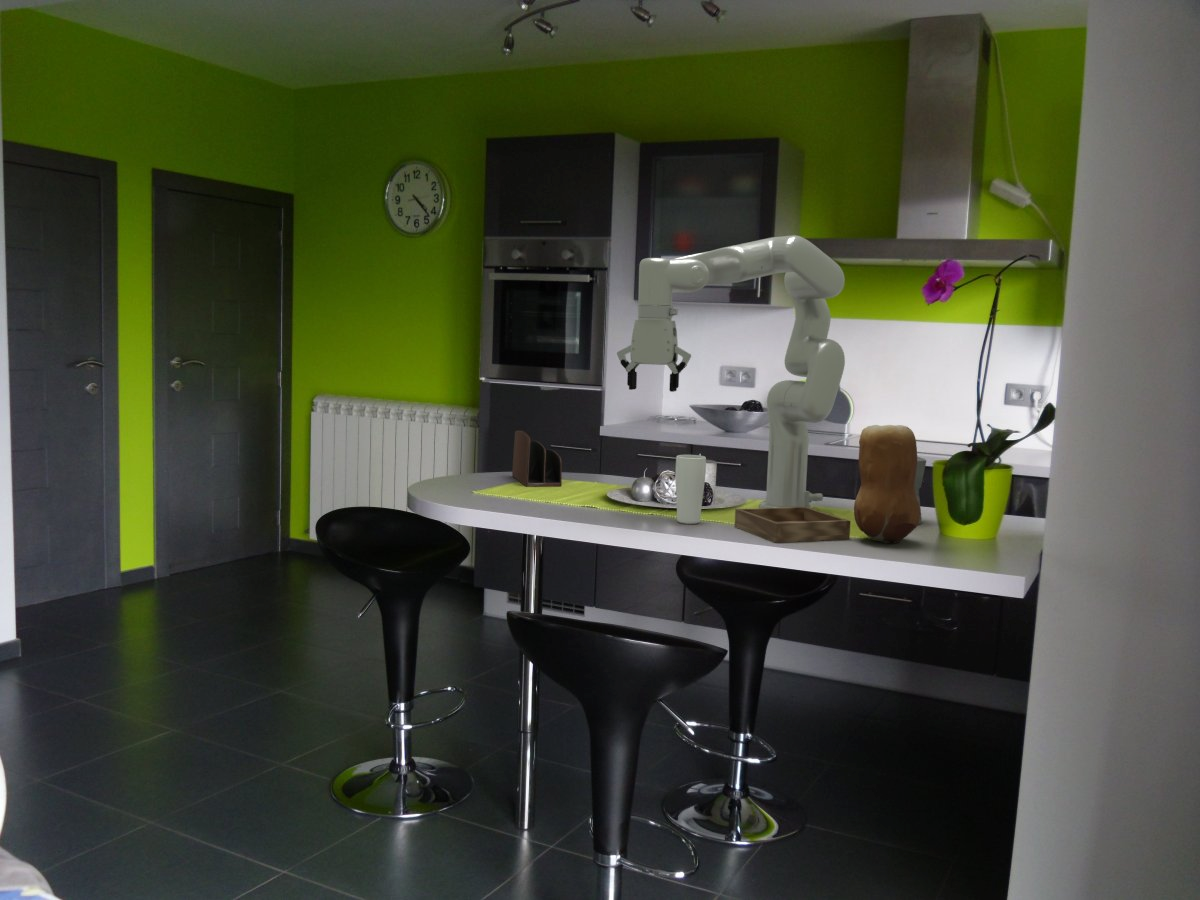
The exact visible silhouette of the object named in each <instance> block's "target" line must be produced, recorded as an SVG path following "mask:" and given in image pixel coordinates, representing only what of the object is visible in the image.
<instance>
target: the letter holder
mask: <svg viewBox="0 0 1200 900" xmlns="http://www.w3.org/2000/svg"><path fill="white" fill-rule="evenodd" d="M513 445H514V446H513V455H512V458H513V459H512V470H511V471H512V473H511V475H512V478H515V480H516V481H518V482H519V483H521V484H522V485H523V486H525V487H526V488H530V487H531V488H536V487H537V488H540V487H541V488H542V487H543V488H545V487H546V488H548V487H549V488H552V487H553V488H555V487H557V488H558V487H559V488H560V487H562V485H563V484H562V483H563V481H562V479H563V478H562V475H563V473H562V472H563V470H562V469H563V467H562V465H563V463H562V462H563V461H562V457H561V456H560V455H559V454H558V453H557V452H556V451H555V450H553V449H551V448H547V449H546V448H545V447H544V445H543V444H542V443H541V442H540V441H537V440H531V437H530V436H529V435H528V434H527V433H526V432H525V431H523V430H515V431H514V443H513Z"/></svg>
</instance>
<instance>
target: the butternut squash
mask: <svg viewBox="0 0 1200 900" xmlns="http://www.w3.org/2000/svg"><path fill="white" fill-rule="evenodd" d="M858 444H859V448H858V469H859V474H860V487H859V490H858V493H857V495H856V498H855V500H854V504H853V506H854V507H853V517H854V521H855V523H856V526H857V527H858V529H859V531H861V532H863V533H864V534H865V535H866V536H867V537H868V538H870V539H872V541H876V542H880V543H884V544H892V545H893V544H896V543H899V542H901V541H902V540H903V539H905V538H906V537H907V536H909V535H910V534H911V533H913V531H914V530H916V528H918V526H919V525H918V523H919V519H920V516H921V517H922V513H921V514H920V508H921V505H920V506H919V503H918V500H917V497H916V493H915V477H916V469H917V457H918V447H917V440H916V436H915V434H914V432H913V430H912V429H911V428H910V427H908V426H907V425H903V424H902V425H901V424H895V425H893V424H887V425H886V424H885V425H878V424H873V425H868V426H865V427H864V428H863V429H862V430H861V432H860V437H859V443H858Z"/></svg>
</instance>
